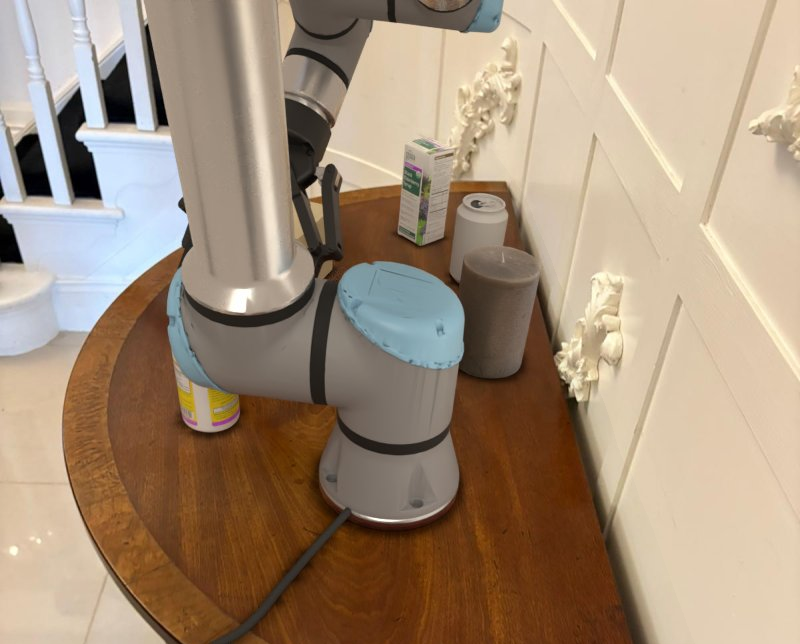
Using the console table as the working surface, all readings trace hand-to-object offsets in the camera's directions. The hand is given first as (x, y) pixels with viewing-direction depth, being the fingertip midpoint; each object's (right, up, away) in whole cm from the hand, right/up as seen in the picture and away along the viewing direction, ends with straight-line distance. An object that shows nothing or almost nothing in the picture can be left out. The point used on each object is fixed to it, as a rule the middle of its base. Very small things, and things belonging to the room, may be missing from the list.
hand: (234, 296), depth 88 cm
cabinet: (-1, +11, +29) cm, 31 cm away
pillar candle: (+30, -3, +18) cm, 35 cm away
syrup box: (+22, +23, +43) cm, 53 cm away
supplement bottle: (-4, -13, +5) cm, 14 cm away
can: (+30, +13, +34) cm, 47 cm away
